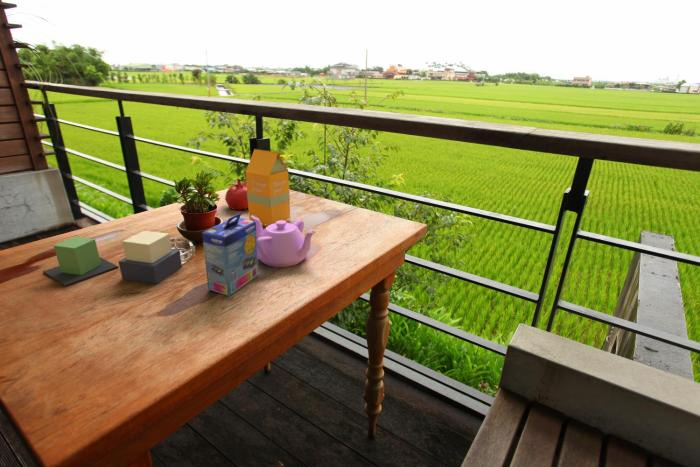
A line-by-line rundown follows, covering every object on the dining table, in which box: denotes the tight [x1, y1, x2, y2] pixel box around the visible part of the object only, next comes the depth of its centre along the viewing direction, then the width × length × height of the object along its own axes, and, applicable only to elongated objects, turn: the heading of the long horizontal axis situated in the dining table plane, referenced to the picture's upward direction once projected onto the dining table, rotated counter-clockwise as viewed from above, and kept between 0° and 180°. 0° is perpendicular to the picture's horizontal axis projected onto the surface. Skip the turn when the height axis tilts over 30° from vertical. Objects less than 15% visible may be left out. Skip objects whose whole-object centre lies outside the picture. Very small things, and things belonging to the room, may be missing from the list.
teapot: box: [251, 215, 317, 268], centre depth 87 cm, size 12×14×9 cm
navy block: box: [117, 248, 183, 285], centre depth 80 cm, size 8×8×4 cm
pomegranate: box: [224, 178, 249, 211], centre depth 120 cm, size 10×10×9 cm
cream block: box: [122, 230, 173, 263], centre depth 78 cm, size 6×6×4 cm
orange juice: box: [245, 148, 291, 227], centre depth 107 cm, size 8×9×20 cm
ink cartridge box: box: [201, 212, 259, 297], centre depth 74 cm, size 10×6×14 cm, turn 158°
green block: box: [53, 235, 101, 275], centre depth 80 cm, size 5×5×6 cm
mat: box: [42, 256, 119, 288], centre depth 81 cm, size 10×10×1 cm
